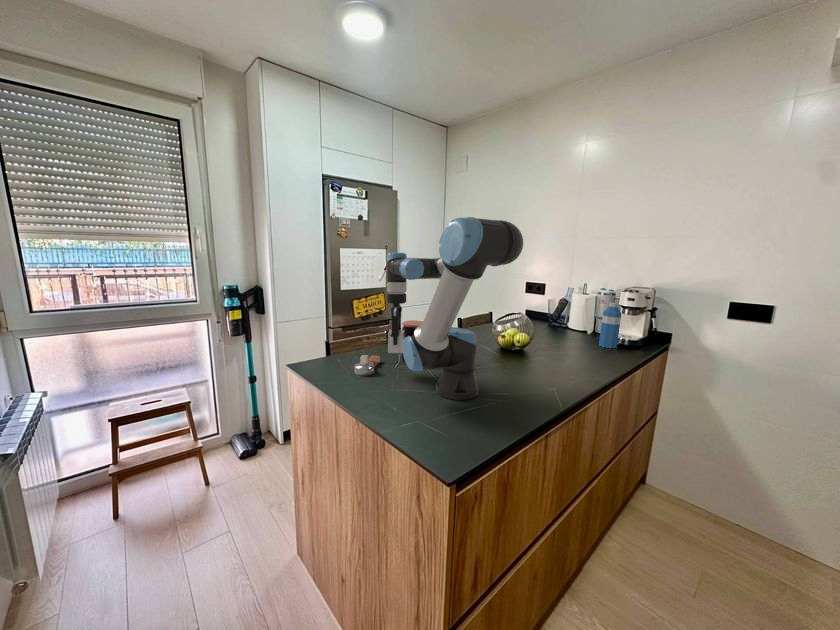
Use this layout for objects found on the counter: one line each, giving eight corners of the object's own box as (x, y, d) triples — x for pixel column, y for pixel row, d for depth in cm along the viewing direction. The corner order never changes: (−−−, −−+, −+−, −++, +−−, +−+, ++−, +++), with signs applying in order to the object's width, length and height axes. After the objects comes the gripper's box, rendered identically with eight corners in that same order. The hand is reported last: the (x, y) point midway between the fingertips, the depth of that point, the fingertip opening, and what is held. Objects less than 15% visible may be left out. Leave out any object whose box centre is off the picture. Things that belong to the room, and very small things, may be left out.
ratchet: (370, 376, 131) (370, 359, 130) (351, 374, 133) (351, 358, 132) (384, 362, 149) (384, 347, 147) (367, 360, 150) (367, 345, 149)
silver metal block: (404, 349, 136) (404, 330, 134) (403, 353, 130) (403, 333, 129) (389, 348, 136) (389, 329, 135) (387, 352, 130) (388, 332, 129)
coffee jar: (429, 360, 153) (430, 322, 150) (416, 366, 144) (417, 326, 141) (410, 356, 159) (410, 319, 156) (396, 361, 150) (397, 323, 147)
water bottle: (601, 348, 181) (607, 303, 176) (595, 344, 190) (601, 301, 185) (620, 350, 180) (626, 304, 175) (613, 345, 189) (619, 302, 184)
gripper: (390, 290, 139) (390, 344, 142) (383, 295, 120) (383, 356, 124) (408, 290, 138) (407, 344, 142) (404, 295, 120) (403, 357, 123)
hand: (396, 350), depth 133 cm, fingers closed on silver metal block, 6 cm apart
